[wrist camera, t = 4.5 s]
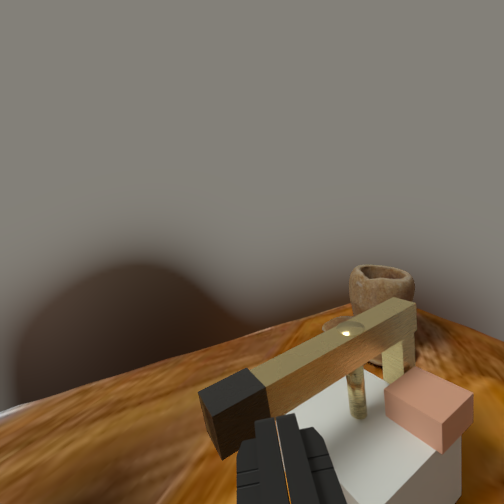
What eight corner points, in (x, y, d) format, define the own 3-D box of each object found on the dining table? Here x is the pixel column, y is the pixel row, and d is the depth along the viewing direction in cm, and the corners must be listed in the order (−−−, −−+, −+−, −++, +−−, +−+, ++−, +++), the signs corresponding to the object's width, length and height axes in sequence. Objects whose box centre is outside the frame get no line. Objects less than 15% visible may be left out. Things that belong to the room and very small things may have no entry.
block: (416, 391, 29) (415, 365, 28) (473, 422, 24) (473, 393, 24) (385, 415, 26) (383, 389, 26) (442, 454, 22) (441, 423, 21)
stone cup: (435, 353, 46) (433, 267, 42) (379, 380, 42) (372, 288, 39) (367, 319, 60) (362, 253, 56) (321, 337, 56) (313, 267, 53)
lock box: (357, 415, 36) (351, 362, 35) (461, 494, 26) (461, 424, 24) (284, 470, 31) (273, 410, 29) (379, 598, 20) (371, 517, 19)
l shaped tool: (396, 369, 31) (391, 294, 29) (421, 382, 29) (417, 301, 27) (221, 492, 21) (197, 392, 19) (237, 527, 19) (212, 416, 17)
